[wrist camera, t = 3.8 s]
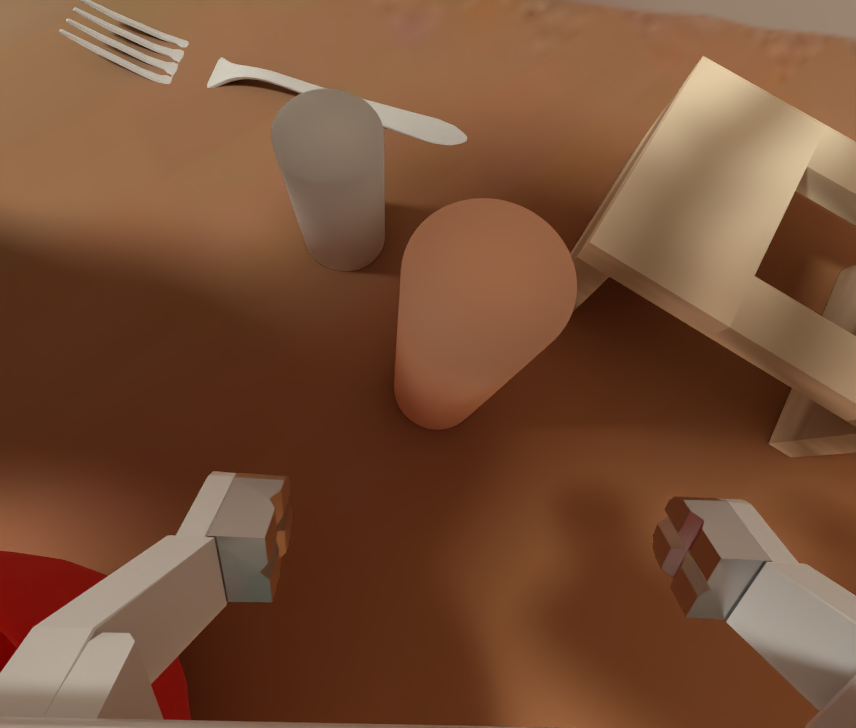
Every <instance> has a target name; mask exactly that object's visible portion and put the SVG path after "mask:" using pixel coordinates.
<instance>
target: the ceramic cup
mask: <svg viewBox="0 0 856 728" xmlns="http://www.w3.org/2000/svg"><path fill="white" fill-rule="evenodd" d="M106 577H107V576H106V575H104V574H101V573H99V572H96V571H94V570H91V569H88V568H86V567H83V566H80V565H78V564H75V563H72V562H69V561H65V560H62V559H55V558H49V557H42V556H35V555H29V554H22V553H15V552H7V551H0V673H1V671H2V670H3V669H4V667H5V666H6V664H7V663H8V662H9V660H10V659H11V657H12V656H13V655H14V653H15V652H16V650H17V649H18V648H19V646H20V645H21V643H22V642H23V641H24V639H25V638H26V636H27V635H28V634H29V632H30V631H31V629H32V628H33V627H34V626H36V625H37V624H39V623H40V622H41V621H43V620H44V619H46V618H47V617H49V616H50V615H52V614H53V613H55V612H56V611H58V610H59V609H60V608H62V607H63V606H65V605H66V604H68V603H69V602H71V601H72V600H74V599H75V598H77V597H78V596H80V595H81V594H82V593H84V592H85V591H87V590H88V589H90V588H91V587H93V586H94V585H96V584H97V583H99V582H100V581H101V580H103V579H104V578H106ZM151 687H152V689H153V692H154V695H155V697H156V700H157V703H158V705H159V708H160V711H161V714H162V716H163V719H164V720H191V716H190V707H189V699H188V690H187V682H186V677H185V674H184V671H183V668H182V665H181V662H180V659H179V656H177V658H176V659H175V660H174V661H173V662H172V663H171V664H170V665H169V666H168V667H167V668H166V669H165V670H164V671H163V672H162V673H161V674H160V675H159V676H158V677H157V678H156V680H155V681H154V682H153V683H152V684H151Z"/></svg>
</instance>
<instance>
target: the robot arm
mask: <svg viewBox="0 0 856 728" xmlns="http://www.w3.org/2000/svg"><path fill="white" fill-rule="evenodd" d="M290 491H291V488H290V479H289V477H287V476H276V475H263V474H250V473H230V472H218V471H213V472H212V473H211V474H210V475H209V476H208V477H207V478H206V480H205V482H204V484H203V486H202V488H201V489H200V491H199V493H198V495H197V497H196V499H195V500H194V502H193V504H192V506H191V508H190V510H189V512H188V513H187V515H186V517H185V519H184V521H183V523H182V525H181V526H180V528H179V530H178V532H177V534H176V536H174V535H167V536H166V537H164V538H163V539H161V540H160V541H159V542H157V543H156V544H154V545H153V546H151V547H150V548H148V549H147V550H145V551H144V552H142V553H141V554H140V555H138V556H137V557H135V558H134V559H132V560H131V561H129V562H128V563H126V564H125V565H123V566H122V567H120V568H119V569H118V570H116V571H115V572H113V573H112V574H110V575H109V576H107V577H106V578H104V579H103V580H101V581H100V582H99V583H97V584H96V585H94V586H93V587H91V588H90V589H88V590H87V591H85V592H84V593H82V594H81V595H80V596H78V597H77V598H75V599H74V600H72V601H71V602H69V603H68V604H66V605H65V606H63V607H62V608H60V609H59V610H58V611H56V612H55V613H53V614H52V615H50V616H49V617H47V618H46V619H44V620H43V621H41V622H40V623H39V624H37V625H36V626H34V627H33V628H32V629H31V631H30V632H29V634H28V635H27V636H26V638H25V639H24V641H23V642H22V643H21V645H20V646H19V648H18V649H17V650H16V652H15V653H14V655H13V656H12V657H11V659H10V660H9V662H8V663H7V664H6V666H5V667H4V669H3V670H2V671H1V673H0V728H558V727H508V726H457V725H407V724H357V723H307V722H258V721H208V720H164V719H163V716H162V714H161V711H160V708H159V705H158V703H157V700H156V697H155V695H154V692H153V689H152V687H151V684H152V683H153V682H154V681H155V680H156V678H157V677H158V676H159V675H160V674H161V673H162V672H163V671H164V670H165V669H166V668H167V667H168V666H169V665H170V664H171V663H172V662H173V661H174V660H175V659H176V658H177V656H178V655H179V654H180V653H181V652H182V651H183V650H184V649H185V648H186V647H187V646H188V645H189V644H190V643H191V642H192V641H193V640H194V639H195V638H196V637H197V636H198V635H199V633H200V632H201V631H202V630H203V629H204V628H205V627H206V626H207V625H208V624H209V623H210V622H211V621H212V620H213V619H214V618H215V617H216V616H217V615H218V614H219V613H220V612H221V610H222V609H223V608H224V607H225V606H226V605H227V602H272V601H273V598H274V594H275V591H276V587H277V584H278V580H279V577H280V573H281V567H280V557H281V556H283V555H284V554H285V553H286V552H287V548H288V544H289V540H290V534H291V528H292V505H291V504H290V503H289V502H288V498H289V494H290ZM665 511H666V513H667V516H668V517H667V518H665V519H664V520H663V521H661V522H660V523H658V524H657V527H656V529H655V532H654V534H653V549H654V553H655V557H656V559H657V561H658V563H659V565H660V568H661V569H662V570H664V571H665V572H666V573H667V574H668V575H670V576H671V577H672V578H673V579H672V583H671V589H672V591H673V593H674V595H675V597H676V599H677V601H678V603H679V605H680V607H681V609H682V611H683V613H684V614H685V616H686V617H691V618H706V619H721V620H727V621H726V623H728V624H729V625H730V626H731V627H732V628H733V629H734V630H735V631H736V632H737V633H738V634H739V635H740V636H741V637H742V638H743V639H744V640H745V641H746V642H747V643H748V644H749V645H750V646H751V647H753V648H754V649H755V650H756V651H757V652H758V653H759V654H760V655H761V656H762V657H763V658H764V659H765V660H766V661H767V662H768V663H769V664H770V665H771V666H772V667H773V668H774V669H775V670H776V671H777V672H779V673H780V674H781V675H782V676H783V677H784V678H785V679H786V680H787V681H788V682H789V683H790V684H791V685H792V686H793V687H794V688H795V689H796V690H797V691H798V692H799V693H800V694H801V695H802V696H804V697H805V698H806V699H807V700H808V701H809V702H810V703H811V704H812V705H813V706H814V707H815V708H816V709H817V710H818V711H819V712H818V713H817V714H816V715H815V716H814V717H813V718H812V719H811V720H810V721H809V722H808V723H807V724H806V726H805V728H856V595H854V594H853V593H851V592H849V591H848V590H846V589H845V588H843V587H842V586H840V585H839V584H837V583H835V582H834V581H832V580H831V579H829V578H828V577H826V576H825V575H823V574H821V573H820V572H818V571H817V570H815V569H814V568H812V567H811V566H809V565H807V564H803V563H798V561H797V560H796V559H795V558H794V557H793V555H792V554H791V553H790V552H789V550H788V549H787V548H786V547H785V545H784V544H783V543H782V542H781V540H780V539H779V538H778V537H777V535H776V534H775V533H774V532H773V531H772V529H771V528H770V527H769V526H768V524H767V523H766V522H765V521H764V519H763V518H762V517H761V516H760V514H759V513H758V512H757V511H756V510H755V508H754V507H753V506H752V505H751V504H750V503H749V502H747V501H745V500H744V499H722V498H721V499H717V498H697V497H673V498H672V499H671V500H669V502H668V504H667V506H666V508H665Z"/></svg>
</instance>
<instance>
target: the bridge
mask: <svg viewBox="0 0 856 728" xmlns="http://www.w3.org/2000/svg"><path fill="white" fill-rule="evenodd" d="M795 191H796V192H798V193H800V194H802V195H803V196H805V197H807V198H809V199H810V200H812V201H814V202H816V203H817V204H819V205H821V206H822V207H824V208H826V209H828V210H829V211H831V212H833V213H835V214H836V215H838V216H840V217H841V218H843V219H845V220H847V221H848V222H850V223H852V224H854V225H855V226H856V142H855V141H853V140H851V139H850V138H848V137H846V136H844V135H842V134H841V133H839V132H837V131H835V130H834V129H832V128H830V127H828V126H826V125H825V124H823V123H821V122H819V121H818V120H816V119H814V118H812V117H811V116H809V115H807V114H805V113H803V112H802V111H800V110H798V109H796V108H795V107H793V106H791V105H789V104H787V103H786V102H784V101H782V100H780V99H779V98H777V97H775V96H773V95H771V94H770V93H768V92H766V91H764V90H763V89H761V88H759V87H757V86H756V85H754V84H752V83H750V82H748V81H747V80H745V79H743V78H741V77H740V76H738V75H736V74H734V73H732V72H731V71H729V70H727V69H725V68H724V67H722V66H720V65H718V64H716V63H715V62H713V61H711V60H709V59H708V58H706V57H704V56H703V57H702V58H701V60H700V61H699V62H698V64H697V65H696V67H695V68H694V69H693V71H692V72H691V73H690V75H689V76H688V78H687V79H686V80H685V82H684V83H683V84H682V86H681V87H680V89H679V90H678V91H677V93H676V94H675V95H674V97H673V98H672V99H671V101H670V102H669V104H668V105H667V106H666V108H665V109H664V110H663V112H662V113H661V115H660V116H659V117H658V119H657V120H656V121H655V123H654V124H653V125H652V127H651V128H650V130H649V131H648V132H647V134H646V135H645V136H644V138H643V139H642V141H641V142H640V143H639V145H638V146H637V147H636V149H635V150H634V152H633V153H632V155H631V157H630V158H629V160H628V161H627V163H626V165H625V166H624V168H623V169H622V171H621V173H620V174H619V176H618V177H617V179H616V181H615V182H614V184H613V186H612V187H611V189H610V190H609V192H608V194H607V195H606V197H605V198H604V200H603V202H602V203H601V205H600V206H599V208H598V210H597V211H596V213H595V215H594V216H593V218H592V219H591V221H590V223H589V224H588V226H587V227H586V229H585V231H584V232H583V234H582V235H581V237H580V239H579V240H578V242H577V244H576V245H575V247H574V248H573V250H572V252H571V253H570V255H571V257H572V260H573V263H574V267H575V271H576V278H577V296H576V301H575V306H574V309H573V311H574V310H575V309H576V308H577V307H578V306H579V305H580V304H581V303H582V302H583V301H585V300H586V299H587V298H588V297H589V296H590V295H591V294H592V293H593V292H594V291H595V290H596V289H597V288H598V287H599V286H600V285H601V284H602V283H603V282H604V281H606V280H607V279H608V278H609V277H611V278H612V279H614V280H616V281H617V282H619V283H620V284H622V285H624V286H625V287H627V288H629V289H630V290H632V291H634V292H635V293H637V294H639V295H640V296H642V297H643V298H645V299H647V300H648V301H650V302H652V303H653V304H655V305H657V306H658V307H660V308H661V309H663V310H665V311H666V312H668V313H670V314H671V315H673V316H675V317H676V318H678V319H680V320H681V321H683V322H684V323H686V324H688V325H689V326H691V327H693V328H694V329H696V330H698V331H699V332H701V333H702V334H704V335H706V336H707V337H709V338H711V339H712V340H714V341H716V342H717V343H719V344H721V345H722V346H724V347H725V348H727V349H729V350H730V351H732V352H734V353H735V354H737V355H739V356H740V357H742V358H744V359H745V360H747V361H748V362H750V363H752V364H753V365H755V366H757V367H758V368H760V369H762V370H763V371H765V372H766V373H768V374H770V375H771V376H773V377H775V378H776V379H778V380H780V381H781V382H783V383H785V384H786V385H788V386H789V387H791V388H792V389H791V391H790V393H789V396H788V398H787V400H786V403H785V405H784V408H783V410H782V412H781V415H780V417H779V420H778V422H777V424H776V427H775V429H774V431H773V434H772V436H771V439H770V441H769V443H768V444H769V445H771V446H773V447H774V448H776V449H777V450H779V451H781V452H782V453H784V454H785V455H787V456H789V457H790V458H793V457H806V456H819V455H832V454H845V453H856V264H855V265H853V266H850V267H848V268H846V269H844V270H842V271H841V272H840V274H839V277H838V279H837V282H836V284H835V286H834V289H833V291H832V293H831V296H830V298H829V301H828V303H827V305H826V308H825V310H824V312H823V315H822V316H821V315H819V314H818V313H816V312H814V311H813V310H811V309H809V308H807V307H806V306H804V305H802V304H801V303H799V302H797V301H796V300H794V299H792V298H791V297H789V296H787V295H786V294H784V293H782V292H781V291H779V290H777V289H776V288H774V287H772V286H770V285H769V284H767V283H765V282H764V281H762V280H760V279H759V278H757V277H755V274H756V272H757V270H758V267H759V265H760V263H761V261H762V259H763V257H764V255H765V253H766V251H767V249H768V247H769V245H770V242H771V240H772V238H773V236H774V234H775V232H776V230H777V228H778V226H779V224H780V222H781V220H782V217H783V215H784V213H785V211H786V209H787V207H788V205H789V203H790V201H791V199H792V197H793V195H794V192H795Z"/></svg>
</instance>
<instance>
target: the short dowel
mask: <svg viewBox="0 0 856 728" xmlns="http://www.w3.org/2000/svg"><path fill="white" fill-rule="evenodd" d="M271 140H272V145H273V149H274V152H275V155H276V158H277V161H278V164H279V167H280V170H281V173H282V176H283V179H284V182H285V185H286V188H287V191H288V194H289V197H290V200H291V203H292V205H293V208H294V211H295V214H296V217H297V220H298V223H299V226H300V229H301V232H302V235H303V238H304V241H305V244H306V247H307V249H308V251H309V253H310V255H311V256H312V257H313V258H314V259H315V260H316V261H317V262H318V263H320V264H321V265H323V266H324V267H326V268H329V269H332V270H336V271H354V270H358V269H361V268H363V267H365V266H367V265H369V264H370V263H371V262H373V261H374V260H375V259H376V258H377V257H378V255H379V254H380V252H381V250H382V248H383V246H384V242H385V165H384V129H383V125H382V122H381V120H380V118H379V116H378V114H377V113H376V111H375V110H374V109H373V108H372V106H371V105H369V104H368V103H367V102H366V101H365V100H363V99H362V98H360V97H358V96H356V95H354V94H352V93H349V92H347V91H343V90H338V89H327V88H326V89H316V90H311V91H307V92H304V93H302V94H299V95H297V96H296V97H294V98H292V99H291V100H289V101H288V102H287V103H286V104H285V105H284V106H283V107H282V108H281V109H280V110H279V112H278V113H277V115H276V117H275V119H274V122H273V125H272V130H271Z"/></svg>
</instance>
